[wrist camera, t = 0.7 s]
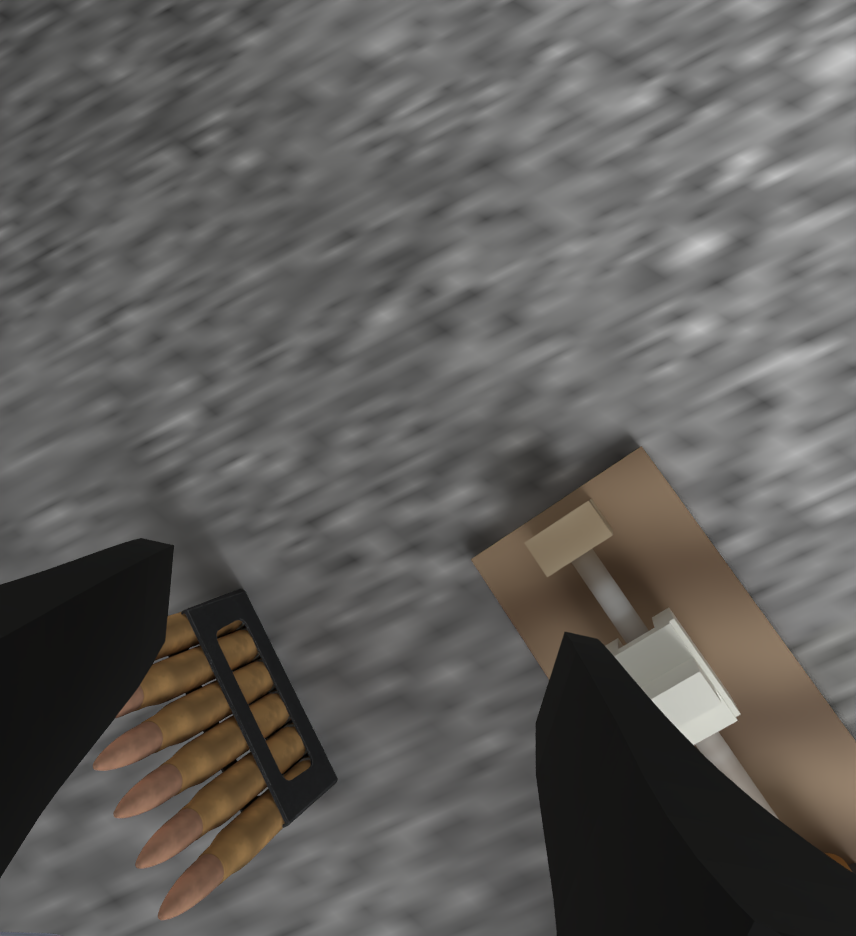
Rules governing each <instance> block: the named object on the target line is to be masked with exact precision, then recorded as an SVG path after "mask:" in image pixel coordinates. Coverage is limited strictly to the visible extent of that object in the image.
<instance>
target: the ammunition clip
mask: <svg viewBox="0 0 856 936" xmlns="http://www.w3.org/2000/svg"><path fill="white" fill-rule="evenodd" d="M198 644H200V646H198V647H195V648H192V649H190V650H189V648H190V647H192V646H195V645H198ZM166 656H168V657H169V658H167V659H165V660H162V661H160V662H157V663H155V664H152V666H151V668H150V669H149V671H148V673H147V674H146V676H145V678H144V679H143V681H142V683H141V684H140V686H139V687H138V689H137V690H136V691H135V693H134V694H133V695H132V697H131V698H130V699H129V701H128V702H127V703H126V704H125V706H124V707H123V708H122V710H121V711H120V712H119V713H118V715H117V716H116V717H115V718H118V717H121V716H124V715H126V714H128V713H131V712H134V711H137V710H139V709H142V708H144V707H147V706H152V705H157V704H161V703H164V702H167V701H169V700H171V699H173V698H175V697H178V696H180V695H182V694H184V693H186V695H185V696H183V697H181V698H179V699H177V700H175V701H173V702H171V703H169V704H168V705H166V706H165V707H163V708H162V709H161V710H160V711H159V712H158V713H157V714H155V715H154V716H152V717H150V718H149V719H147V720H145V721H144V722H142V723H141V724H140V725H138V726H136V727H134V728H132V729H130V730H129V731H127V732H126V733H124V734H123V735H121V736H120V737H118V738H117V739H116V740H114V741H113V742H112V743H111V744H110V745H109V746H108V747H106V748H105V749H104V750H103V751H102V752H101V753H100V754H99V756H98V757H97V758H96V760H95V762H94V763H93V769H95V770H102V771H104V770H111V769H116V768H120V767H123V766H126V765H130V764H132V763H135V762H137V761H139V760H142V759H144V758H146V757H147V756H149V755H151V754H153V753H156V752H158V751H160V750H162V749H164V748H166V747H168V746H172V745H175V744H179V743H182V742H184V741H186V740H188V739H190V738H191V737H193V736H195V735H197V734H198V733H200V732H202V731H203V732H204V733H203V734H202V735H200V736H198V737H197V738H195V739H193V740H192V741H190V742H189V743H187V744H186V745H184V746H183V747H182V748H181V749H179V750H178V751H177V752H176V754H175V755H174V756H173V757H172V758H170V759H169V760H167V761H166V762H165V763H163V764H162V765H161V766H159V767H158V768H157V769H155V770H154V771H152V772H151V773H149V774H148V775H147V776H145V777H144V778H143V779H142V780H141V781H139V782H138V783H137V784H136V785H135V786H134V787H133V788H131V789H130V790H129V791H128V793H127V794H126V795H125V796H124V797H123V798H122V799H121V801H120V802H119V804H118V805H117V807H116V809H115V811H114V817H115V818H128V817H131V816H135V815H138V814H141V813H144V812H146V811H149V810H151V809H153V808H155V807H157V806H159V805H161V804H162V803H164V802H166V801H167V800H169V799H170V798H171V797H173V796H175V795H178V794H179V793H181V792H182V791H184V790H186V789H187V788H189V787H192V786H195V785H197V784H200V783H202V782H204V781H205V780H207V779H208V778H210V777H211V776H212V775H214V774H215V773H217V772H218V771H219V770H222V772H223V773H221V774H220V775H219V776H217V777H216V778H215V779H213V780H212V781H211V782H209V783H208V784H207V785H205V786H204V787H203V788H202V789H201V790H199V791H198V792H197V794H196V795H195V796H194V797H193V799H192V800H191V801H190V802H189V803H188V804H187V805H186V806H184V807H183V808H182V809H181V810H180V811H179V812H178V813H177V814H176V815H175V816H173V817H172V818H171V819H170V820H168V821H167V822H166V823H165V824H164V825H163V826H162V827H161V828H160V829H159V830H158V831H157V832H156V833H155V834H154V835H153V836H152V837H151V838H150V839H149V841H148V842H147V843H146V845H145V846H144V848H143V849H142V851H141V852H140V854H139V856H138V858H137V860H136V864H135V865H136V867H137V868H147V867H151V866H154V865H157V864H159V863H162V862H164V861H166V860H168V859H170V858H172V857H173V856H175V855H176V854H178V853H179V852H181V851H182V850H184V849H185V848H186V847H188V846H189V845H190V844H191V843H193V842H194V841H195V840H198V839H199V838H200V837H202V836H203V835H204V834H206V833H207V832H208V831H210V830H212V829H215V828H217V827H219V826H221V825H222V824H224V823H225V822H226V821H227V820H229V819H230V818H231V817H232V816H233V815H234V814H236V813H237V812H238V811H239V810H240V811H241V813H240V814H239V815H238V816H237V817H236V818H235V819H234V820H233V821H231V822H230V823H229V824H228V825H227V826H226V827H225V828H224V829H222V830H221V831H220V832H219V833H218V835H217V836H216V837H215V839H214V840H213V842H212V843H211V845H210V846H209V847H208V848H207V849H206V850H205V851H204V852H203V853H202V854H201V855H200V856H199V857H198V859H197V860H196V861H195V862H194V863H193V864H192V865H191V866H190V867H189V868H188V869H187V870H186V871H185V872H184V873H183V874H182V875H181V876H180V878H179V879H178V880H177V881H176V882H175V884H174V885H173V886H172V888H171V889H170V891H169V892H168V894H167V896H166V897H165V899H164V901H163V903H162V905H161V907H160V910H159V913H158V918H159V919H160V920H166V919H170V918H173V917H175V916H177V915H179V914H181V913H183V912H185V911H187V910H188V909H190V908H191V907H193V906H194V905H196V904H197V903H198V902H199V901H201V900H202V899H203V898H205V897H206V896H207V895H208V894H209V893H210V892H212V891H213V890H214V889H215V888H216V887H217V886H218V885H220V884H221V883H222V882H223V881H224V880H225V879H227V878H228V877H229V876H230V875H231V874H233V873H235V872H237V871H238V870H240V869H241V868H243V867H244V866H245V865H246V864H247V863H249V862H250V861H251V860H252V859H253V858H254V857H255V856H256V855H257V854H258V853H259V852H260V850H261V849H262V848H263V847H264V846H265V845H266V844H267V843H268V842H269V841H270V840H271V839H272V838H273V837H274V836H275V835H276V834H277V833H278V832H279V831H280V830H281V829H282V828H284V827H286V826H288V825H289V824H290V823H291V822H293V821H294V820H295V819H296V818H297V817H298V816H299V815H300V814H302V813H303V812H304V811H305V810H306V809H307V808H308V807H309V806H311V805H312V804H313V803H314V802H315V801H316V800H317V799H318V798H320V797H321V796H322V795H323V794H324V793H325V792H326V791H327V790H328V789H330V788H331V787H332V786H333V785H334V784H335V783H336V782H337V780H338V779H337V776H336V774H335V772H334V770H333V768H332V766H331V764H330V762H329V760H328V758H327V756H326V754H325V752H324V750H323V748H322V746H321V744H320V742H319V740H318V738H317V736H316V734H315V732H314V730H313V728H312V726H311V724H310V722H309V720H308V718H307V716H306V714H305V712H304V710H303V708H302V705H301V703H300V701H299V699H298V697H297V695H296V693H295V691H294V689H293V687H292V685H291V683H290V681H289V679H288V677H287V675H286V673H285V671H284V669H283V667H282V665H281V663H280V661H279V659H278V657H277V655H276V653H275V651H274V649H273V647H272V645H271V643H270V641H269V639H268V637H267V635H266V632H265V630H264V628H263V626H262V624H261V622H260V620H259V618H258V616H257V614H256V612H255V610H254V608H253V606H252V604H251V602H250V600H249V598H248V596H247V594H246V592H245V591H244V590H242V589H239V590H236V591H233V592H231V593H228V594H225V595H223V596H220V597H217V598H215V599H212V600H210V601H207V602H204V603H202V604H199V605H196V606H194V607H191V608H188V609H186V610H184V611H182V612H180V613H176V614H173V615H170V616H168V617H167V629H166V640H165V643H164V645H163V646H162V648H161V650H160V652H159V653H158V655H157V657H156V659H155V660H157V659H160V658H163V657H166ZM232 671H233V672H232ZM214 679H217V680H216V681H214V682H212V683H210V684H207V685H205V686H203V687H202V686H201V685H203V684H205V683H207V682H209V681H211V680H214ZM248 704H249V706H248ZM231 714H233V716H231V717H229V718H228V719H226V720H224V721H223V722H221V723H220V724H219V721H221V720H222V719H224V718H226V717H227V716H229V715H231ZM265 739H266V741H265ZM249 749H250V751H251V752H250V753H248V754H247V755H246V756H244V757H243V758H242V759H240V760H239V761H238V762H237V760H236V758H238V757H239V756H241V755H242V754H243V753H245V752H246V751H248V750H249ZM266 787H268V789H267V790H266V791H265V792H264V793H263V794H262V795H260V796H257V795H258V794H259V793H260V792H262V791H263V790H264V789H265V788H266Z"/></svg>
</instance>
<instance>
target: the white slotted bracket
mask: <svg viewBox="0 0 856 936" xmlns="http://www.w3.org/2000/svg"><path fill="white" fill-rule="evenodd" d="M652 620H653V624H654V628H653V629H651V630H650V631H648V632H646V633H644V634H643V635H641V636H639V637H638V638H636V639H634V640H633V641H631V642H629V643H628V644H626V645H624V646H623V644H622V643H621V642H620V640H619V639H618V638H617V639H615V640H614V641H612V642H610V643H609V644H607V645H606V646H605V647H606V648H607V649H608V650H609V651H610V652H611V653H612V654H613V656H614V657H615V658H616V659H617V660H618V662H619V663H620V664H621V665H622V666H623V667H624V669H625V670H626V671H627V672H628V673H629V675H630V676H631V677H632V678H633V679H634V680H635V682H636V683H637V684H638V685H639V686H640V687H641V689H642V690H643V691H644V692H645V693H646V694H647V696H648V697H649V698H650V699H651V700H652V701H653V702H654V703H655V705H656V706H657V707H658V708H659V709H660V710H661V711H662V712H663V714H664V715H665V716H666V717H667V718H668V719H669V720H670V721H671V722H672V723H673V724H674V725H675V726H676V728H677V729H678V730H679V731H680V732H681V733H682V734H683V735H684V736H685V737H686V738H687V739H688V740H689V741H690V742H691V743H692V744H693V745H694V744H696V743H698V742H700V741H702V740H704V739H705V738H707V737H709V736H711V735H713V734H715V733H716V732H718V731H720V730H722V729H724V728H725V727H727V726H729V725H731V724H733V723H735V722H736V721H738V720H737V718H736V717H737V716H739V715H740V712H739V710H738V708H737V707H736V705H735V703H734V701H733V699H732V697H731V695H730V694H729V692H728V691H727V690H726V688H725V687H724V685H723V684H722V682H721V681H720V680H719V678H718V677H717V675H716V674H715V672H714V671H713V670H712V668H711V667H710V665H709V664H708V662H707V661H706V660H705V658H704V657H703V655H702V654H701V652H700V651H699V650H698V648H697V647H696V645H695V644H694V642H693V641H692V640H691V638H690V637H689V635H688V634H687V632H686V631H685V630H684V628H683V627H682V625H681V624H680V622H679V621H678V620H677V618H676V617H675V615H674V614H673V612H672V611H671V610H670V608H667V609H665V610H664V611H662V612H660V613H659V614H657V615H655V616H654V617H652Z"/></svg>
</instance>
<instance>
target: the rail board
mask: <svg viewBox="0 0 856 936" xmlns="http://www.w3.org/2000/svg"><path fill="white" fill-rule="evenodd" d="M471 560H472V562H473V563H474V565H475V566H476V568H477V570H478V571H479V573H480V574H481V576H482V577H483V579H484V580H485V582H486V583H487V585H488V586H489V588H490V590H491V591H492V593H493V594H494V596H495V597H496V599H497V600H498V602H499V603H500V605H501V606H502V608H503V609H504V611H505V613H506V614H507V616H508V617H509V619H510V620H511V622H512V623H513V625H514V626H515V628H516V629H517V631H518V633H519V634H520V636H521V637H522V639H523V640H524V642H525V643H526V645H527V646H528V648H529V649H530V651H531V652H532V654H533V656H534V657H535V659H536V660H537V662H538V663H539V665H540V666H541V668H542V669H543V671H544V672H545V674H546V676H547V677H548V679H550V676H551V673H552V670H553V667H554V664H555V660H556V657H557V654H558V651H559V648H560V645H561V641H562V638H563V635H564V632H570V633H574V634H579V635H583V636H588V637H592V638H597V639H599V640H600V641H601V642H602V643H603V644H604V645H605V646H606V645H607V644H609V643H610V642H612V641H614V640H615V639H617V638H618V639H619V640H620V642H621V643H622V644H623V646H624V645H626V644H628V643H629V642H631V641H633V640H634V639H636V638H638V637H639V636H641V635H643V634H644V633H646V632H648V631H650V630H651V629H653V628H654V624H653V620H652V617H654V616H655V615H657V614H659V613H660V612H662V611H664V610H665V609H667V608H670V610H671V611H672V612H673V614H674V615H675V617H676V618H677V620H678V621H679V622H680V624H681V625H682V627H683V628H684V630H685V631H686V632H687V634H688V635H689V637H690V638H691V640H692V641H693V642H694V644H695V645H696V647H697V648H698V650H699V651H700V652H701V654H702V655H703V657H704V658H705V660H706V661H707V662H708V664H709V665H710V667H711V668H712V670H713V671H714V672H715V674H716V675H717V677H718V678H719V680H720V681H721V682H722V684H723V685H724V687H725V688H726V690H727V691H728V692H729V694H730V695H731V697H732V699H733V701H734V703H735V705H736V707H737V708H738V710H739V712H740V715H739V716H737V717H736V718H737V720H738V721H736V722H735V723H733V724H731V725H729V726H727V727H725V728H724V729H722V730H720V731H718V732H716V733H715V734H713V735H711V736H709V737H707V738H705V739H704V740H702V741H700V742H698V743H696V744H694V746H695V747H696V748H697V749H698V750H699V751H700V752H701V753H702V754H703V755H704V756H705V757H706V758H707V759H708V760H709V761H710V762H712V763H713V764H714V765H715V766H716V767H717V768H718V769H719V770H720V771H721V772H722V773H724V774H725V775H726V776H727V777H728V778H729V779H730V780H732V781H733V782H734V783H735V784H736V785H737V786H738V787H740V788H741V789H742V790H743V791H744V792H745V793H746V794H748V795H749V796H750V797H751V798H752V799H753V800H755V801H756V802H757V803H758V804H760V805H761V806H762V807H763V808H765V809H766V810H767V811H768V812H770V813H771V814H772V815H773V816H775V817H776V818H777V819H779V820H780V821H781V822H783V823H784V824H785V825H787V826H788V827H789V828H791V829H792V830H793V831H795V832H796V833H797V834H799V835H800V836H801V837H803V838H804V839H805V840H807V841H808V842H809V843H811V844H812V845H813V846H815V847H816V848H818V849H819V850H821V851H822V852H823V853H825V854H826V855H828V856H829V857H831V858H832V859H833V860H835V861H836V862H838V863H839V864H841V865H842V866H844V867H845V868H847V869H848V870H850V871H851V872H853V873H855V874H856V741H855V740H854V738H853V737H852V736H851V734H850V733H849V732H848V730H847V729H846V727H845V726H844V725H843V723H842V722H841V721H840V719H839V718H838V716H837V715H836V714H835V712H834V711H833V709H832V708H831V707H830V705H829V704H828V703H827V701H826V700H825V698H824V697H823V696H822V694H821V693H820V692H819V690H818V689H817V687H816V686H815V685H814V683H813V682H812V681H811V679H810V678H809V676H808V675H807V674H806V672H805V671H804V670H803V668H802V667H801V665H800V664H799V663H798V661H797V660H796V658H795V657H794V656H793V654H792V653H791V652H790V650H789V649H788V647H787V646H786V645H785V643H784V642H783V641H782V639H781V638H780V636H779V635H778V634H777V632H776V631H775V630H774V628H773V627H772V625H771V624H770V623H769V621H768V620H767V619H766V617H765V616H764V614H763V613H762V612H761V610H760V609H759V607H758V606H757V605H756V603H755V602H754V601H753V599H752V598H751V596H750V595H749V594H748V592H747V591H746V590H745V588H744V587H743V585H742V584H741V583H740V581H739V580H738V579H737V577H736V576H735V574H734V573H733V572H732V570H731V569H730V567H729V566H728V565H727V563H726V562H725V561H724V559H723V558H722V556H721V555H720V554H719V552H718V551H717V550H716V548H715V547H714V545H713V544H712V543H711V541H710V540H709V539H708V537H707V536H706V534H705V533H704V532H703V530H702V529H701V528H700V526H699V525H698V523H697V522H696V521H695V519H694V518H693V516H692V515H691V514H690V512H689V511H688V510H687V508H686V507H685V505H684V504H683V503H682V501H681V500H680V499H679V497H678V496H677V494H676V493H675V492H674V490H673V489H672V488H671V486H670V485H669V483H668V482H667V481H666V479H665V478H664V477H663V475H662V474H661V472H660V471H659V470H658V468H657V467H656V465H655V464H654V463H653V461H652V460H651V459H650V457H649V456H648V454H647V453H646V452H645V450H644V449H643V448H642V446H641V447H640V448H638V449H637V450H635V451H634V452H632V453H630V454H629V455H627V456H626V457H624V458H623V459H621V460H620V461H618V462H617V463H615V464H614V465H612V466H611V467H609V468H608V469H606V470H605V471H603V472H602V473H600V474H599V475H597V476H596V477H594V478H593V479H591V480H590V481H588V482H587V483H585V484H584V485H582V486H581V487H579V488H578V489H576V490H575V491H573V492H572V493H570V494H569V495H567V496H566V497H564V498H563V499H561V500H560V501H558V502H557V503H555V504H554V505H552V506H551V507H549V508H548V509H546V510H545V511H543V512H542V513H540V514H539V515H537V516H536V517H534V518H533V519H531V520H530V521H528V522H527V523H525V524H524V525H522V526H521V527H519V528H518V529H516V530H515V531H513V532H511V533H510V534H508V535H507V536H505V537H504V538H502V539H501V540H499V541H498V542H496V543H495V544H493V545H492V546H490V547H489V548H487V549H486V550H484V551H483V552H481V553H480V554H478V555H477V556H475V557H474V558H472V559H471Z"/></svg>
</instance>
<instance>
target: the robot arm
mask: <svg viewBox="0 0 856 936" xmlns="http://www.w3.org/2000/svg"><path fill="white" fill-rule="evenodd" d="M173 550H174V545H170V544H165V543H161V542H156V541H152V540H147V539H143V538H140V539H136V540H132V541H128V542H125V543H122V544H119V545H116V546H113V547H110V548H107V549H104V550H102V551H99V552H96V553H93V554H90V555H88V556H85V557H82V558H79V559H76V560H74V561H71V562H68V563H65V564H62V565H59V566H57V567H54V568H51V569H48V570H45V571H42V572H39V573H36V574H33V575H30V576H27V577H24V578H20V579H17V580H14V581H11V582H8V583H4V584H1V585H0V878H1V876H2V874H3V873H4V871H5V869H6V868H7V866H8V865H9V863H10V862H11V860H12V858H13V857H14V855H15V854H16V852H17V851H18V849H19V847H20V846H21V844H22V843H23V841H24V840H25V838H26V836H27V835H28V833H29V832H30V830H31V829H32V827H33V826H34V824H35V822H36V821H37V819H38V818H39V816H40V815H41V813H42V812H43V810H44V809H45V808H46V806H47V805H48V803H49V802H50V801H51V799H52V798H53V797H54V795H55V794H56V792H57V791H58V790H59V788H60V787H61V786H62V785H63V783H64V782H65V781H66V779H67V778H68V777H69V776H70V774H71V773H72V772H73V771H74V769H75V768H76V767H77V766H78V764H79V763H80V762H81V760H82V759H83V758H84V757H85V755H86V754H87V753H88V752H89V750H90V749H91V748H92V747H93V745H94V744H95V743H96V741H97V740H98V739H99V738H100V736H101V735H102V734H103V733H104V731H105V730H106V729H107V728H108V726H109V725H110V724H111V723H112V721H113V720H114V719H115V717H116V716H117V715H118V713H119V712H120V711H121V710H122V708H123V707H124V706H125V704H126V703H127V702H128V701H129V699H130V698H131V697H132V695H133V694H134V693H135V691H136V690H137V689H138V687H139V686H140V684H141V683H142V681H143V679H144V678H145V676H146V674H147V673H148V671H149V669H150V668H151V666H152V664H153V662H154V661H155V659H156V657H157V655H158V653H159V652H160V650H161V648H162V646H163V645H164V643H165V640H166V629H167V617H168V606H169V595H170V584H171V573H172V562H173ZM536 778H537V786H538V793H539V801H540V808H541V815H542V822H543V829H544V836H545V843H546V850H547V857H548V864H549V871H550V878H551V885H552V891H553V898H554V908H555V918H556V929H557V936H856V874H855V873H853V872H851V871H850V870H848V869H847V868H845V867H844V866H842V865H841V864H839V863H838V862H836V861H835V860H833V859H832V858H831V857H829V856H828V855H826V854H825V853H823V852H822V851H821V850H819V849H818V848H816V847H815V846H813V845H812V844H811V843H809V842H808V841H807V840H805V839H804V838H803V837H801V836H800V835H799V834H797V833H796V832H795V831H793V830H792V829H791V828H789V827H788V826H787V825H785V824H784V823H783V822H781V821H780V820H779V819H777V818H776V817H775V816H773V815H772V814H771V813H770V812H768V811H767V810H766V809H765V808H763V807H762V806H761V805H760V804H758V803H757V802H756V801H755V800H753V799H752V798H751V797H750V796H749V795H748V794H746V793H745V792H744V791H743V790H742V789H741V788H740V787H738V786H737V785H736V784H735V783H734V782H733V781H732V780H730V779H729V778H728V777H727V776H726V775H725V774H724V773H722V772H721V771H720V770H719V769H718V768H717V767H716V766H715V765H714V764H713V763H712V762H710V761H709V760H708V759H707V758H706V757H705V756H704V755H703V754H702V753H701V752H700V751H699V750H698V749H697V748H696V747H695V746H694V745H693V744H692V743H691V742H690V741H689V740H688V739H687V738H686V737H685V736H684V735H683V734H682V733H681V732H680V731H679V730H678V729H677V728H676V726H675V725H674V724H673V723H672V722H671V721H670V720H669V719H668V718H667V717H666V716H665V715H664V714H663V712H662V711H661V710H660V709H659V708H658V707H657V706H656V705H655V703H654V702H653V701H652V700H651V699H650V698H649V697H648V696H647V694H646V693H645V692H644V691H643V690H642V689H641V687H640V686H639V685H638V684H637V683H636V682H635V680H634V679H633V678H632V677H631V676H630V675H629V673H628V672H627V671H626V670H625V669H624V667H623V666H622V665H621V664H620V663H619V662H618V660H617V659H616V658H615V657H614V656H613V654H612V653H611V652H610V651H609V650H608V649H607V648H606V647H605V645H604V644H603V643H602V642H601V641H600V640H599V639H597V638H592V637H588V636H583V635H579V634H574V633H570V632H564V635H563V638H562V641H561V645H560V648H559V651H558V654H557V657H556V660H555V664H554V667H553V670H552V673H551V676H550V679H549V683H548V686H547V689H546V692H545V695H544V698H543V702H542V705H541V708H540V711H539V714H538V717H537V721H536ZM0 936H62V935H58V934H53V933H19V932H0Z"/></svg>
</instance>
